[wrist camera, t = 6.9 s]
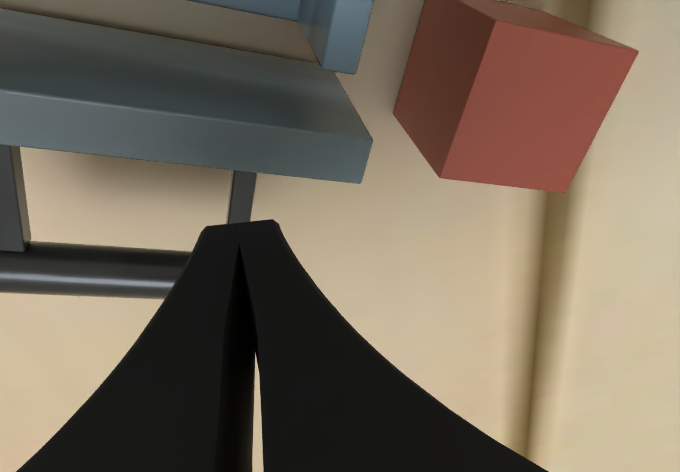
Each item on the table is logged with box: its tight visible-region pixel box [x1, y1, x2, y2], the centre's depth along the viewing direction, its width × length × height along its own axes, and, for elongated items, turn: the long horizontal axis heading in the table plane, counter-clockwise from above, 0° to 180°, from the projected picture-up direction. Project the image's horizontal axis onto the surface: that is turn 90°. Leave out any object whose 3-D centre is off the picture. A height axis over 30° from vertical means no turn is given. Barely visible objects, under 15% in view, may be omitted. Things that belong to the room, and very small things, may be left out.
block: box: [393, 0, 638, 193], centre depth 16 cm, size 4×4×5 cm
